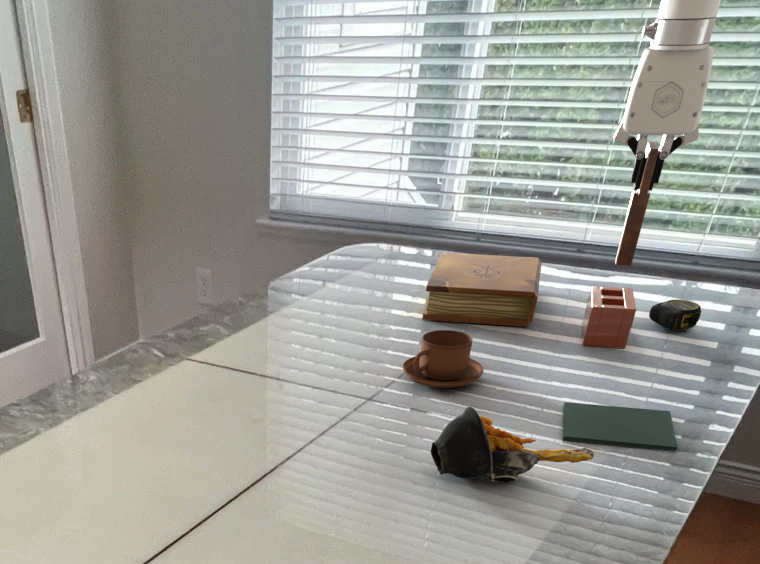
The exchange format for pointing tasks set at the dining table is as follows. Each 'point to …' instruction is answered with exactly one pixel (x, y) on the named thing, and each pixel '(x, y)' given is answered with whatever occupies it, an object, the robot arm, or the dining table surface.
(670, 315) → the tape measure
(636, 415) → the mat
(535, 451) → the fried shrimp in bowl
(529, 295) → the diary
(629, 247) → the notched brown wooden bar
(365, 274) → the dining table surface
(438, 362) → the cup and saucer
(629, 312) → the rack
